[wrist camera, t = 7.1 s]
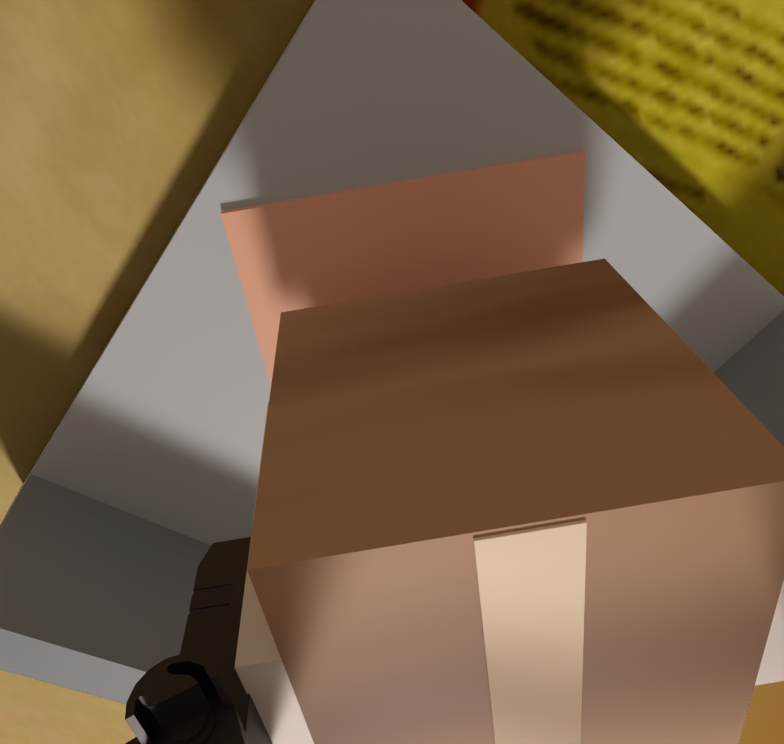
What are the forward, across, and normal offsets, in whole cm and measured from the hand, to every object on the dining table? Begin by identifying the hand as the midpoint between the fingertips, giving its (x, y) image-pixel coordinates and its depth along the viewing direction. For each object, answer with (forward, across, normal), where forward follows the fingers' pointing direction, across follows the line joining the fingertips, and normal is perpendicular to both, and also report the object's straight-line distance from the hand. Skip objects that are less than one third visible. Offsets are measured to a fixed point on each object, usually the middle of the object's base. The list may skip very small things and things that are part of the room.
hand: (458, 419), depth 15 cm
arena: (+5, -1, -3) cm, 6 cm away
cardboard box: (0, 0, 0) cm, 0 cm away
